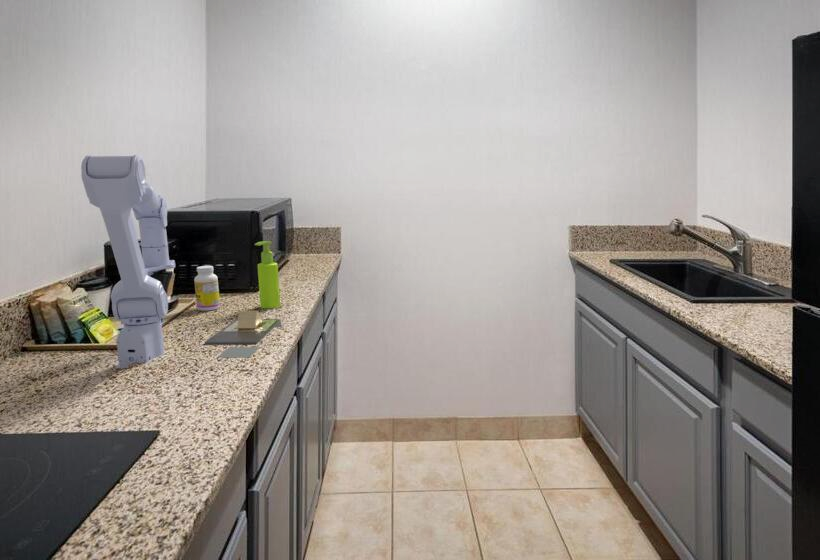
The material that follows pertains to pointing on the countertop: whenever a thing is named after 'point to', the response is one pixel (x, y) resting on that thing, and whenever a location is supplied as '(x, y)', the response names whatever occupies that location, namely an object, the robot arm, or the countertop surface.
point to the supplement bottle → (206, 289)
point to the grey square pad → (238, 352)
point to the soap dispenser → (268, 278)
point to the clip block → (249, 320)
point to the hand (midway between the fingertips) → (160, 302)
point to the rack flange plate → (243, 333)
